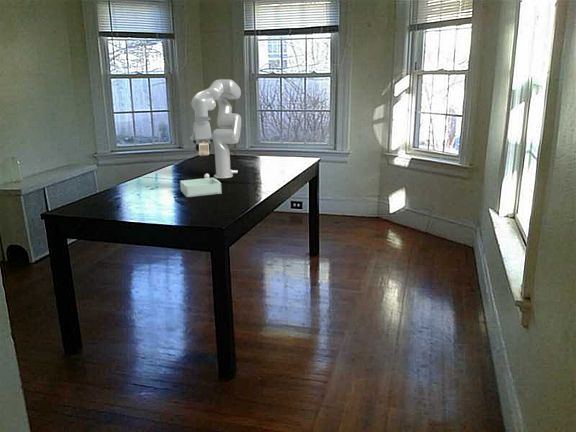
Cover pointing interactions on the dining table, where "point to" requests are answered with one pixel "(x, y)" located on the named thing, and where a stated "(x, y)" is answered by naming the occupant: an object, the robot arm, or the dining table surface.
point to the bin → (200, 187)
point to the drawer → (203, 148)
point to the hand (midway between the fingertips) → (203, 150)
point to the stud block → (208, 176)
